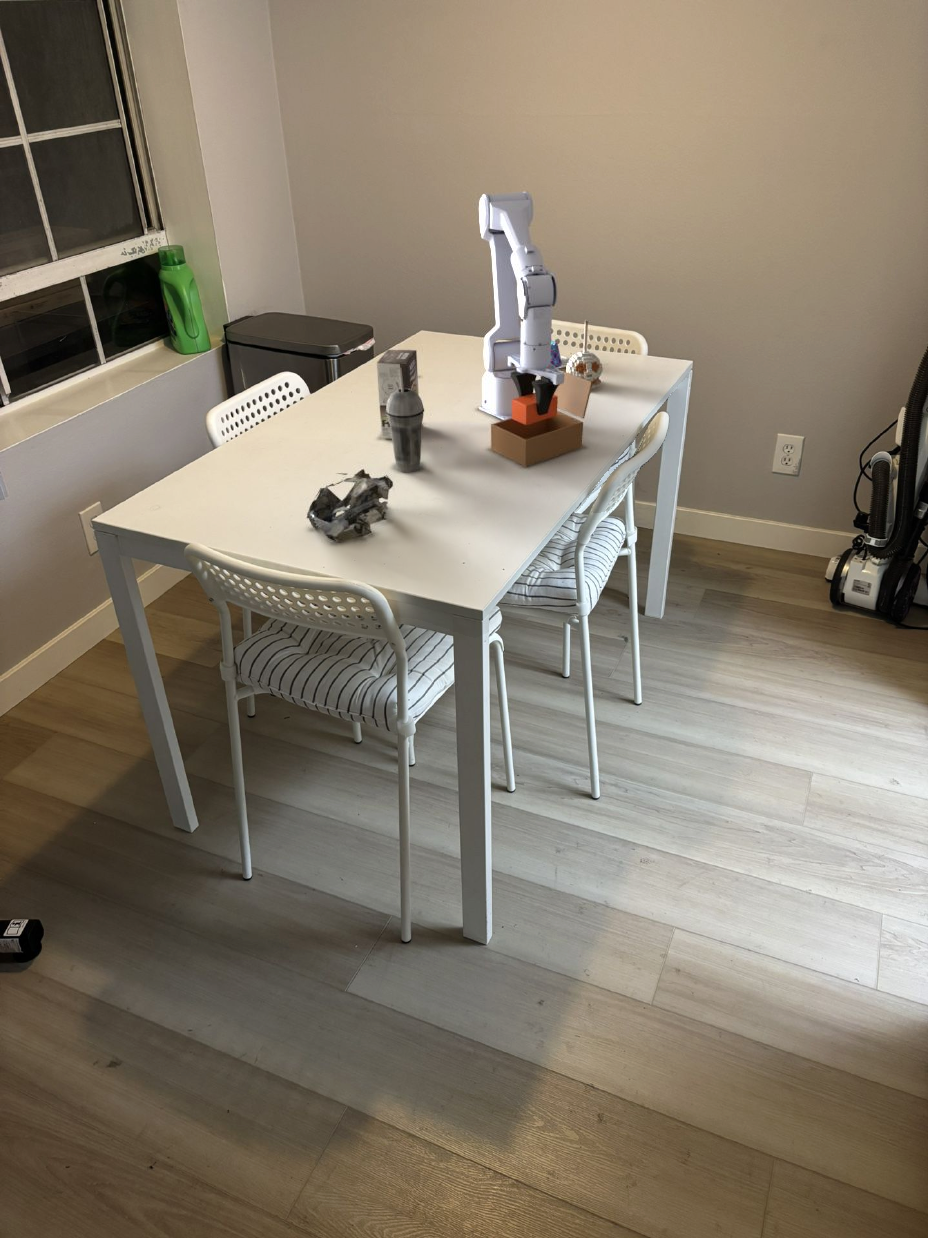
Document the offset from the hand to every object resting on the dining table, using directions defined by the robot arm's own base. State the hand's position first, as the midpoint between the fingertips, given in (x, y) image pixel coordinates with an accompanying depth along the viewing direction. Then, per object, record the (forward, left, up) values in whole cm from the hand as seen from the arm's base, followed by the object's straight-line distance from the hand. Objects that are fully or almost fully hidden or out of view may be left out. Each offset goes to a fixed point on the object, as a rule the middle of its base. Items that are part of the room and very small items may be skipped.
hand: (534, 410), depth 187 cm
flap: (0, +9, +2) cm, 9 cm away
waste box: (0, +1, -8) cm, 8 cm away
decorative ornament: (-21, +33, -8) cm, 40 cm away
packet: (0, 0, -1) cm, 1 cm away
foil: (+5, -45, -8) cm, 46 cm away
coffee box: (-25, -15, -8) cm, 30 cm away
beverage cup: (-9, -24, -8) cm, 27 cm away
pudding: (-38, +36, -8) cm, 53 cm away
